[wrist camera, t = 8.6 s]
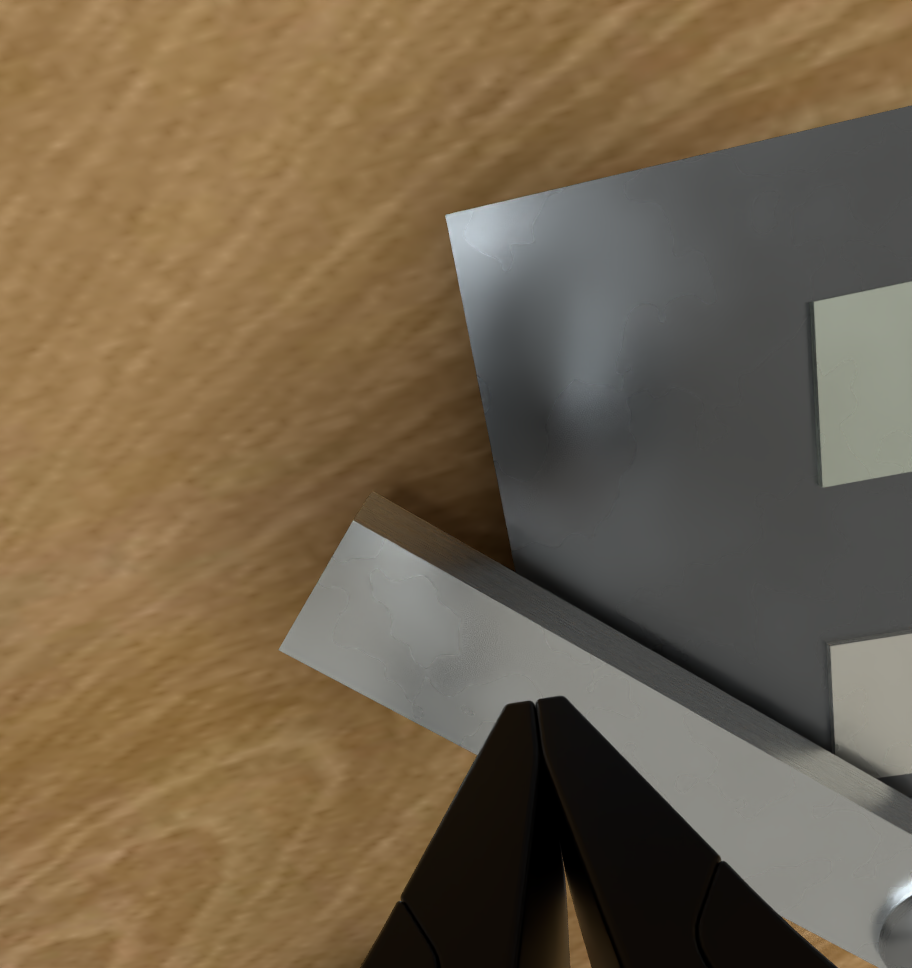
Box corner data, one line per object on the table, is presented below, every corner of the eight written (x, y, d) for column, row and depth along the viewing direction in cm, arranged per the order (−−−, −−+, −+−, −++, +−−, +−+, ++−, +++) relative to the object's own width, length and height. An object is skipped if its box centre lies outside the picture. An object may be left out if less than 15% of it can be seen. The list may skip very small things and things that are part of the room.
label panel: (1032, 817, 20) (1072, 852, 19) (575, 874, 22) (582, 911, 20) (1075, 76, 14) (1137, 50, 13) (447, 223, 16) (444, 213, 14)
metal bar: (986, 841, 18) (1075, 931, 15) (897, 922, 19) (965, 1021, 16) (372, 490, 16) (350, 524, 13) (307, 603, 17) (274, 656, 14)
